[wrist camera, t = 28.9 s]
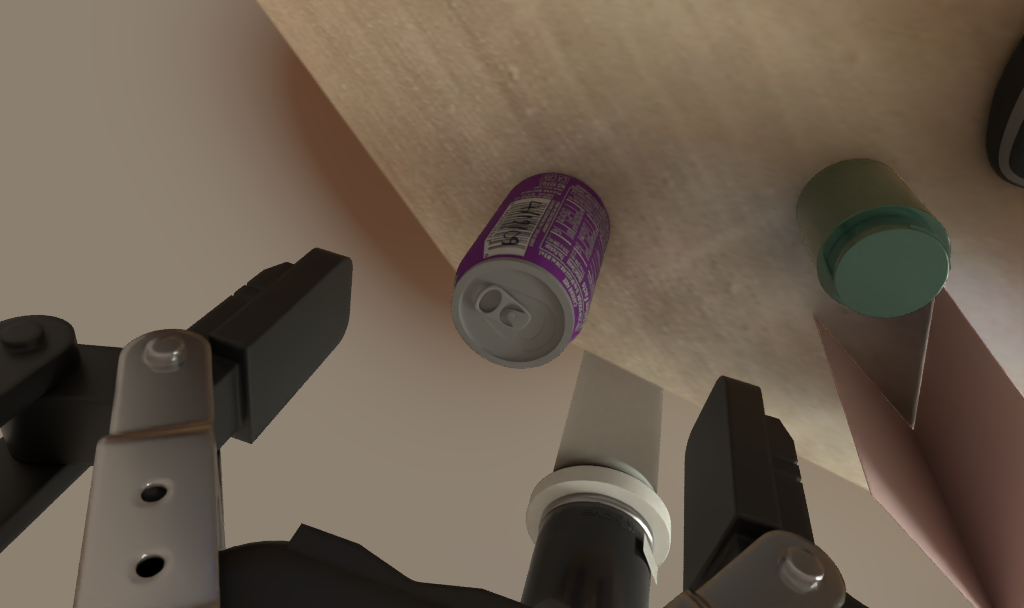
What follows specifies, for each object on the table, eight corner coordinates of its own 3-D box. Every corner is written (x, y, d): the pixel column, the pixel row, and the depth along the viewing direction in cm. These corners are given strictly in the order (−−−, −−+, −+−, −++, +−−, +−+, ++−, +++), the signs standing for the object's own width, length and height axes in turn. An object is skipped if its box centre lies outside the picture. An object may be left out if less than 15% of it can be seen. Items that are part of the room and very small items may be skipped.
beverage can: (483, 229, 41) (417, 321, 31) (542, 146, 38) (488, 221, 28) (568, 290, 42) (529, 399, 32) (634, 214, 38) (614, 312, 28)
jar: (874, 262, 36) (919, 341, 29) (779, 236, 37) (801, 307, 30) (927, 173, 33) (991, 238, 26) (823, 147, 34) (858, 202, 27)
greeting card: (928, 431, 41) (1033, 649, 28) (806, 428, 43) (853, 629, 31) (956, 279, 35) (1099, 465, 23) (814, 285, 38) (875, 457, 25)
